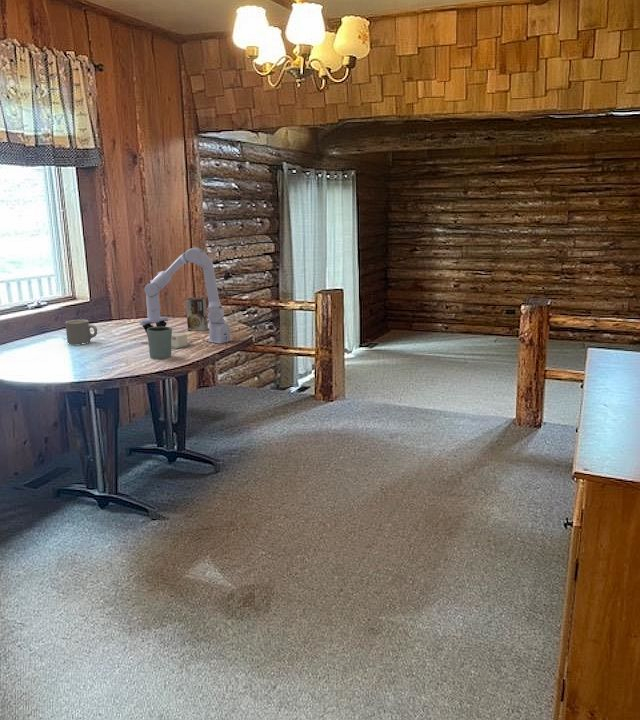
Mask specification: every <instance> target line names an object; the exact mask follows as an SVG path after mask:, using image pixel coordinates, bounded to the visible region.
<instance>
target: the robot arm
mask: <svg viewBox="0 0 640 720" xmlns="http://www.w3.org/2000/svg"><path fill="white" fill-rule="evenodd" d="M188 263H191V264H195V265H197V266H199V268H202V271H203V278H204V283H205V289H206V295H207V301H208V312H207V319H208V320H209V321H208V330H209V339H206V340H205V342H207V341H208V342H207V343H213V342H214V343H213V344H219V345H220V344H223V343H224V344H225V343H228V342H232V341H233V340H232V339H231V327H230V325H229V324H227V323H226V322H225V319H224V317H225V310H224V307H222V303H221V301H220V297H219V290H218V286H217V280H216V273H215V268H214V262H213V260H212V258H210V257H209V256H208V255H207V253H206V252H205V250H203V249H201V248H199V247H198V246H197V247H196V246H194V247H192V248H189V249H187V250H186V251H185V252H183V253H181V255H179V256H178V257H177V258H176V259H175V260H174V261H173V263H171V265H170V266H169V267H168V268H167V269H166V270H161V271H158V272H157V273H156V276H155V277H153V279H150V280H149V282H150V283H147V284H146V285H145V286H144V288H143V289H144V290H143V292H144V293H145V298H146V300H145V301H146V312H147V313H146V314H147V318H145V319H142V320H139V326H142V328H143V329H144V331H145V333H146V334H147V328H151V327H154V325H152V324H155V325H156V326H155V327H162V326H164V327H167V322H169V316H161V308H160V307H161V306H160V296H159V295H160V294H159V293H160V292H161V290H163V288H164V287H166V286H167V284H169V282H171V280H172V275H174V274H175V273H176V272H177V271H178V270H179V269H180V268H181V267H182V266H183V265H186V264H188Z"/></svg>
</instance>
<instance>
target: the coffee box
mask: <svg viewBox="0 0 640 720" xmlns="http://www.w3.org/2000/svg"><path fill="white" fill-rule="evenodd" d="M185 306H186V307H185V308H186V309H185V310H186V320H187V323H186V324H187V331H188V330H205V331H207V330H209V321H208V308H207V297H189V298H186V299H185ZM206 329H207V330H206Z"/></svg>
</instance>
